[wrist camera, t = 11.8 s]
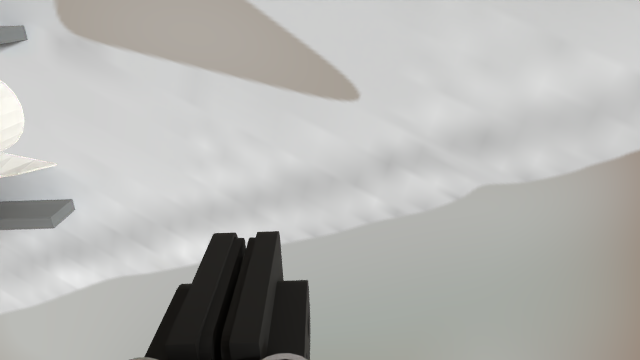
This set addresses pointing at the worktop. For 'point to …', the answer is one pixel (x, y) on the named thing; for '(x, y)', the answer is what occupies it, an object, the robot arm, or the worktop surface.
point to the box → (30, 211)
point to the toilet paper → (14, 136)
